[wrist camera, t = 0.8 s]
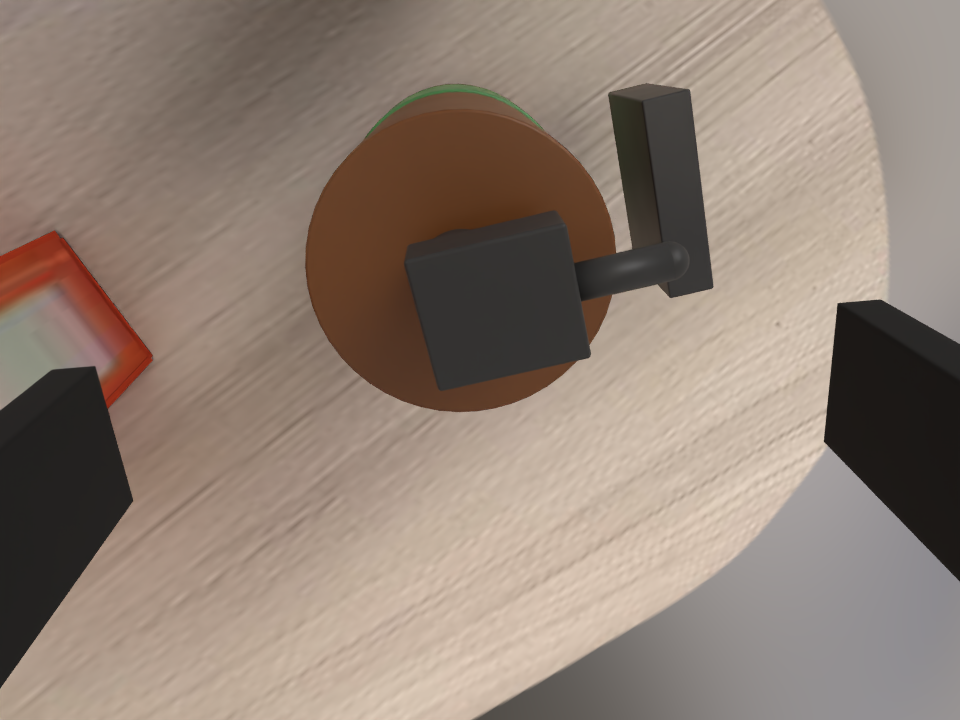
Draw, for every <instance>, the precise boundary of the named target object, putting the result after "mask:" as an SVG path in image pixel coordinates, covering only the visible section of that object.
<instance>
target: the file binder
mask: <svg viewBox="0 0 960 720" xmlns="http://www.w3.org/2000/svg"><path fill="white" fill-rule="evenodd" d="M152 356H153V355H152V354H151V353H150V351H149V350H148V349H147V348H146V346H145V345H144V344H143V342H142V341H141V340H140V338H139V337H138V336H137V334H136V333H135V332H134V330H133V329H132V328H131V327H130V325H129V324H128V323H127V321H126V320H125V319H124V317H123V316H122V315H121V313H120V312H119V311H118V309H117V308H116V307H115V306H114V304H113V303H112V302H111V300H110V299H109V298H108V296H107V295H106V294H105V292H104V291H103V290H102V288H101V287H100V286H99V285H98V283H97V282H96V281H95V279H94V278H93V277H92V275H91V274H90V273H89V271H88V270H87V269H86V267H85V266H84V265H83V264H82V262H81V261H80V260H79V258H78V257H77V256H76V254H75V253H74V252H73V250H72V249H71V248H70V246H69V245H68V244H67V243H66V241H65V240H64V239H63V238H61V239H60V237H59V236H58V234H57V233H56V232H55V231H52V232H50V233H48V234H46V235H44V236H42V237H40V238H38V239H36V240H33V241H31V242H29V243H27V244H25V245H23V246H21V247H19V248H17V249H14V250H12V251H10V252H8V253H6V254H4V255H2V256H0V410H1V409H2V408H4V407H5V406H6V405H8V404H9V403H10V402H11V401H13V400H14V399H15V398H16V397H18V396H19V395H20V394H21V393H23V392H24V391H25V390H27V389H28V388H29V387H30V386H32V385H33V384H34V383H35V382H37V381H38V380H39V379H40V378H42V377H43V376H44V375H46V374H47V373H48V372H49V371H51V370H52V369H64V368H76V367H88V366H96V370H97V373H98V377H99V380H100V384H101V388H102V391H103V395H104V398H105V402H106V405H107V409H108V408H109V407H110V406H111V405H112V404H113V403H114V402H115V400H116V399H117V398H118V397H119V396H120V395H121V394H122V393H123V392H124V391H125V390H126V389H127V387H128V386H129V385H130V384H131V383H132V382H133V381H134V380H135V379H136V378H137V377H138V376H139V375H140V373H141V372H142V371H143V370H144V369H145V368H146V367H147V366H148V365H149V364H150V363H151V362H152V361H153V360H152V359H151V357H152Z"/></svg>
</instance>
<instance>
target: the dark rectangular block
mask: <svg viewBox="0 0 960 720" xmlns="http://www.w3.org/2000/svg"><path fill="white" fill-rule="evenodd" d="M608 96H609V102H610V109H611V115H612V121H613V128H614V134H615V141H616V147H617V153H618V160H619V166H620V172H621V179H622V185H623V191H624V198H625V204H626V210H627V217H628V223H629V230H630V236H631V242H632V249H637V248H641V247H645V246H650V245H654V244H658V243H663V242H668V241H671V242H676V243H679V244H681V245H682V246H683V247H684V248H685V249H686V250H687V252H688V255H689V267H688V269H687V271H686V272H685V274H684V275H683V276H682V277H680V278H679V279H677V280H674V281H669V282H665V283H661V284H658V285H659V286H660V288H661V289H662V290H663V291H664V292H665V293H666V294H667V295H668V296H669V297H670V298H673V297H678V296H682V295H686V294H691V293H695V292H700V291H704V290H708V289H712V288H713V279H712V270H711V262H710V254H709V245H708V237H707V228H706V220H705V212H704V203H703V195H702V187H701V178H700V170H699V161H698V153H697V145H696V136H695V128H694V120H693V111H692V103H691V94H690V90H689V89H682V88H675V87H668V86H661V85H654V84H647V83H646V84H642V85H638V86H633V87H629V88H625V89H621V90H617V91H613V92H610V93H609V94H608Z"/></svg>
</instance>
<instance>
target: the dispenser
mask: <svg viewBox="0 0 960 720" xmlns="http://www.w3.org/2000/svg"><path fill="white" fill-rule="evenodd" d="M688 267H689V255H688V252H687V250H686V249H685V248H684V247H683V246H682V245H681V244H679V243H676V242H671V241H668V242H663V243H658V244H654V245H650V246H645V247H641V248H637V249H632V250H628V251H624V252H619V253H616V247H615V236H614V232H613V228H612V223H611V219H610V215H609V213H608V210H607V208H606V205H605V202H604V200H603V197H602V196H601V194H600V192H599V190H598V188H597V186H596V185H595V183H594V181H593V179H592V178H591V177H590V175H589V174H588V173H587V171H586V170H585V169H584V167H583V166H582V165H581V163H580V162H579V161H578V160H577V159H576V158H575V157H574V156H573V155H572V154H571V153H570V152H569V151H568V150H567V149H566V148H565V147H564V146H563V145H561V144H560V143H559V142H558V141H556V140H555V139H554V138H553V137H551V136H550V135H549V134H547V133H546V132H545V131H544V130H543V129H542V127H541V126H540V125H539V124H538V123H537V122H536V121H535V120H534V119H533V118H532V117H531V116H529V115H528V114H527V113H525V112H524V111H523V110H521V109H520V108H519V107H518V106H516V105H515V104H514V103H512V102H511V101H510V100H508V99H506V98H504V97H503V96H501V95H499V94H497V93H495V92H492V91H490V90H487V89H484V88H480V87H476V86H472V85H464V84H445V85H440V86H434V87H431V88H428V89H425V90H422V91H419V92H417V93H415V94H413V95H411V96H409V97H407V98H406V99H404V100H403V101H401V102H400V103H398V104H397V105H396V106H395V107H394V108H392V109H391V110H390V111H389V112H388V113H387V114H386V115H385V116H384V117H383V118H382V119H380V120H379V121H378V122H377V124H376V125H375V126H374V127H373V128H372V129H371V131H370V132H369V133H368V134H367V136H366V137H365V139H364V140H363V141H362V142H361V143H360V144H359V145H358V146H357V147H356V148H355V149H354V150H353V151H352V152H351V153H350V154H349V155H348V156H347V158H346V159H345V160H344V161H343V162H342V163H341V165H340V166H339V167H338V168H337V169H336V170H335V172H334V173H333V175H332V176H331V178H330V180H329V181H328V183H327V184H326V186H325V187H324V189H323V191H322V193H321V195H320V198H319V200H318V202H317V204H316V206H315V209H314V212H313V215H312V219H311V222H310V225H309V230H308V236H307V243H306V260H305V269H306V277H307V286H308V291H309V294H310V298H311V302H312V306H313V309H314V311H315V314H316V316H317V319H318V321H319V324H320V326H321V328H322V329H323V331H324V333H325V335H326V336H327V338H328V340H329V342H330V343H331V344H332V346H333V347H334V348H335V350H336V351H337V352H338V354H339V355H340V356H341V358H342V359H343V360H344V361H345V362H346V363H347V364H348V365H349V366H350V367H351V368H352V369H353V370H354V371H355V372H356V373H358V374H359V375H360V376H361V377H363V378H364V379H365V380H366V381H367V382H369V383H370V384H372V385H373V386H375V387H377V388H378V389H380V390H381V391H383V392H385V393H387V394H389V395H391V396H393V397H395V398H397V399H399V400H402V401H404V402H407V403H410V404H413V405H416V406H420V407H424V408H429V409H434V410H439V411H452V412H469V411H481V410H487V409H493V408H498V407H501V406H505V405H508V404H512V403H515V402H517V401H519V400H522V399H524V398H526V397H529V396H531V395H533V394H535V393H536V392H538V391H540V390H542V389H543V388H545V387H547V386H548V385H550V384H551V383H552V382H554V381H555V380H556V379H558V378H559V377H560V376H562V375H563V374H564V373H565V372H566V371H567V370H568V369H569V368H570V367H571V366H572V365H573V364H574V363H576V362H577V361H578V360H582V359H587V358H589V357H590V355H591V351H590V346H589V345H590V344H591V342H592V340H593V339H594V337H595V336H596V334H597V332H598V331H599V329H600V326H601V324H602V322H603V320H604V318H605V316H606V313H607V310H608V307H609V304H610V301H611V297H612V295H613V294H617V293H621V292H626V291H630V290H634V289H639V288H643V287H647V286H652V285H656V284H661V283H665V282H669V281H674V280H677V279H679V278H680V277H682V276H683V275H684V274H685V272H686V271H687V269H688Z"/></svg>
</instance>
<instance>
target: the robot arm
mask: <svg viewBox="0 0 960 720" xmlns="http://www.w3.org/2000/svg"><path fill="white" fill-rule="evenodd" d="M824 442H825V443H826V444H827V445H828V446H829V447H830V448H831V449H832V450H833V451H834V453H835V454H836V455H837V456H838V457H840V459H841V460H842V461H843V462H844V463H845V464H846V465H847V466H848V467H849V468H850V469H851V470H852V471H853V472H854V473H855V474H856V475H857V476H858V477H859V478H860V479H861V480H862V481H863V482H864V483H865V484H866V485H867V486H868V488H869V489H870V490H871V491H872V492H873V493H874V494H875V495H876V496H877V497H878V498H879V499H880V500H881V501H882V502H883V503H884V504H885V505H886V506H887V507H888V508H889V509H890V510H891V511H892V512H893V513H894V514H895V515H896V516H897V517H898V518H899V519H900V520H901V521H902V522H903V524H904V525H906V527H907V528H908V529H909V530H910V531H911V532H912V533H913V534H914V535H915V536H916V537H917V538H918V539H919V540H920V541H921V542H922V543H923V544H924V545H925V546H926V547H927V548H928V549H929V550H930V551H931V552H932V553H933V554H934V555H935V556H936V557H937V559H939V560H940V562H941V563H942V564H943V565H944V566H945V567H946V568H947V569H948V570H949V571H950V572H951V573H952V574H953V575H954V576H955V577H956V578H957V579H958V580H959V581H960V344H958V343H957V342H955V341H953V340H951V339H950V338H948V337H946V336H944V335H943V334H941V333H939V332H937V331H935V330H934V329H932V328H930V327H928V326H926V325H925V324H923V323H921V322H919V321H918V320H916V319H914V318H912V317H911V316H909V315H907V314H905V313H903V312H902V311H900V310H898V309H896V308H894V307H893V306H891V305H889V304H888V303H886V302H884V301H882V300H870V301H858V302H846V303H838V305H837V315H836V325H835V335H834V345H833V355H832V365H831V375H830V385H829V395H828V405H827V416H826V426H825V436H824ZM132 502H133V498H132V494H131V491H130V487H129V484H128V480H127V476H126V473H125V469H124V466H123V462H122V459H121V455H120V452H119V448H118V444H117V441H116V437H115V434H114V430H113V427H112V423H111V420H110V416H109V412H108V409H107V405H106V402H105V398H104V395H103V391H102V388H101V384H100V380H99V377H98V373H97V370H96V366H88V367H76V368H64V369H52V370H51V371H49V372H48V373H47V374H46V375H44V376H43V377H42V378H40V379H39V380H38V381H37V382H35V383H34V384H33V385H32V386H30V387H29V388H28V389H27V390H25V391H24V392H23V393H21V394H20V395H19V396H18V397H16V398H15V399H14V400H13V401H11V402H10V403H9V404H8V405H6V406H5V407H4V408H2V409H1V410H0V688H1V687H2V685H3V684H4V682H5V681H6V680H7V678H8V677H9V675H10V674H11V673H12V671H13V670H14V668H15V667H16V666H17V664H18V663H19V661H20V660H21V658H22V657H23V656H24V654H25V653H26V651H27V650H28V649H29V647H30V646H31V644H32V643H33V642H34V640H35V639H36V637H37V636H38V635H39V633H40V632H41V630H42V629H43V627H44V626H45V625H46V623H47V622H48V620H49V619H50V618H51V616H52V615H53V613H54V612H55V611H56V609H57V608H58V606H59V605H60V603H61V602H62V601H63V599H64V598H65V596H66V595H67V594H68V592H69V591H70V589H71V588H72V587H73V585H74V584H75V582H76V581H77V579H78V578H79V577H80V575H81V574H82V572H83V571H84V570H85V568H86V567H87V565H88V564H89V563H90V561H91V560H92V558H93V557H94V556H95V554H96V553H97V551H98V550H99V548H100V547H101V546H102V544H103V543H104V541H105V540H106V539H107V537H108V536H109V534H110V533H111V532H112V530H113V529H114V527H115V526H116V524H117V523H118V522H119V520H120V519H121V517H122V516H123V515H124V513H125V512H126V510H127V509H128V508H129V506H130V505H131V503H132Z"/></svg>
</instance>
